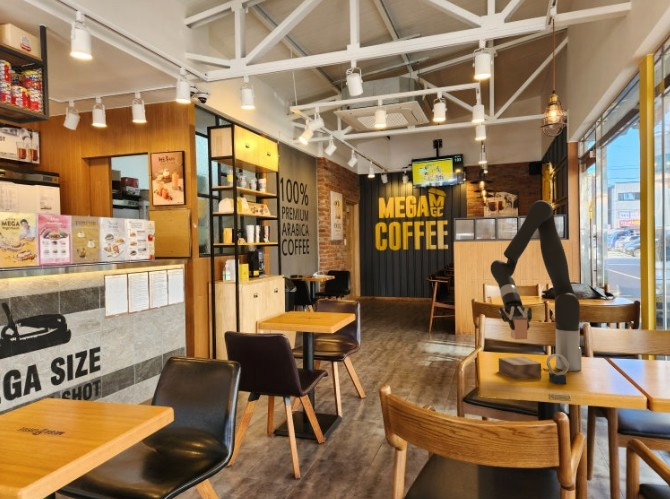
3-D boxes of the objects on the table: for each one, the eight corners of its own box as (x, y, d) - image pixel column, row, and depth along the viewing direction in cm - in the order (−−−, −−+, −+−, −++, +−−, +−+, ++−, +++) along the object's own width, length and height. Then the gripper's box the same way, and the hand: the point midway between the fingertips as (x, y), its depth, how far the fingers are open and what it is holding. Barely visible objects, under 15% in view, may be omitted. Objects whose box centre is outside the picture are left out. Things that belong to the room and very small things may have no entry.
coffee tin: (522, 336, 194) (522, 315, 194) (527, 339, 188) (527, 317, 188) (510, 336, 194) (510, 315, 194) (514, 339, 189) (514, 317, 189)
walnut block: (523, 370, 198) (523, 356, 198) (541, 378, 186) (541, 363, 186) (498, 372, 196) (498, 358, 196) (514, 379, 184) (514, 365, 184)
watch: (571, 384, 177) (571, 356, 177) (550, 384, 177) (549, 355, 177) (565, 380, 182) (565, 352, 182) (544, 379, 183) (544, 352, 183)
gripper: (496, 291, 199) (505, 323, 187) (529, 291, 198) (540, 323, 186) (492, 302, 204) (501, 334, 192) (524, 302, 204) (535, 334, 192)
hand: (520, 328), depth 189 cm, fingers closed on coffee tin, 5 cm apart
